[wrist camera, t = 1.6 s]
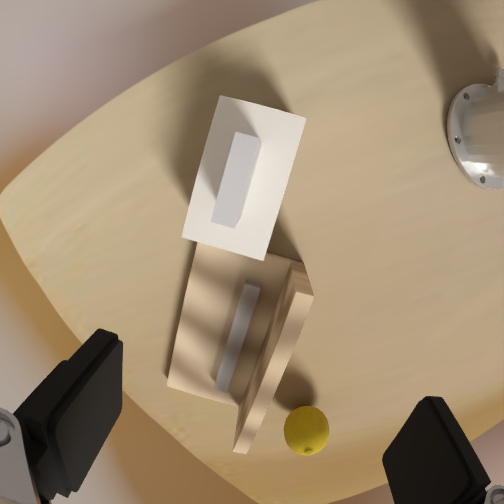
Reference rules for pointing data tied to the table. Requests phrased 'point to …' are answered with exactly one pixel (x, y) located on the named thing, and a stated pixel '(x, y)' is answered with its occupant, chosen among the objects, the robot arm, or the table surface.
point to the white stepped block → (242, 176)
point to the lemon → (306, 430)
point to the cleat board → (218, 318)
